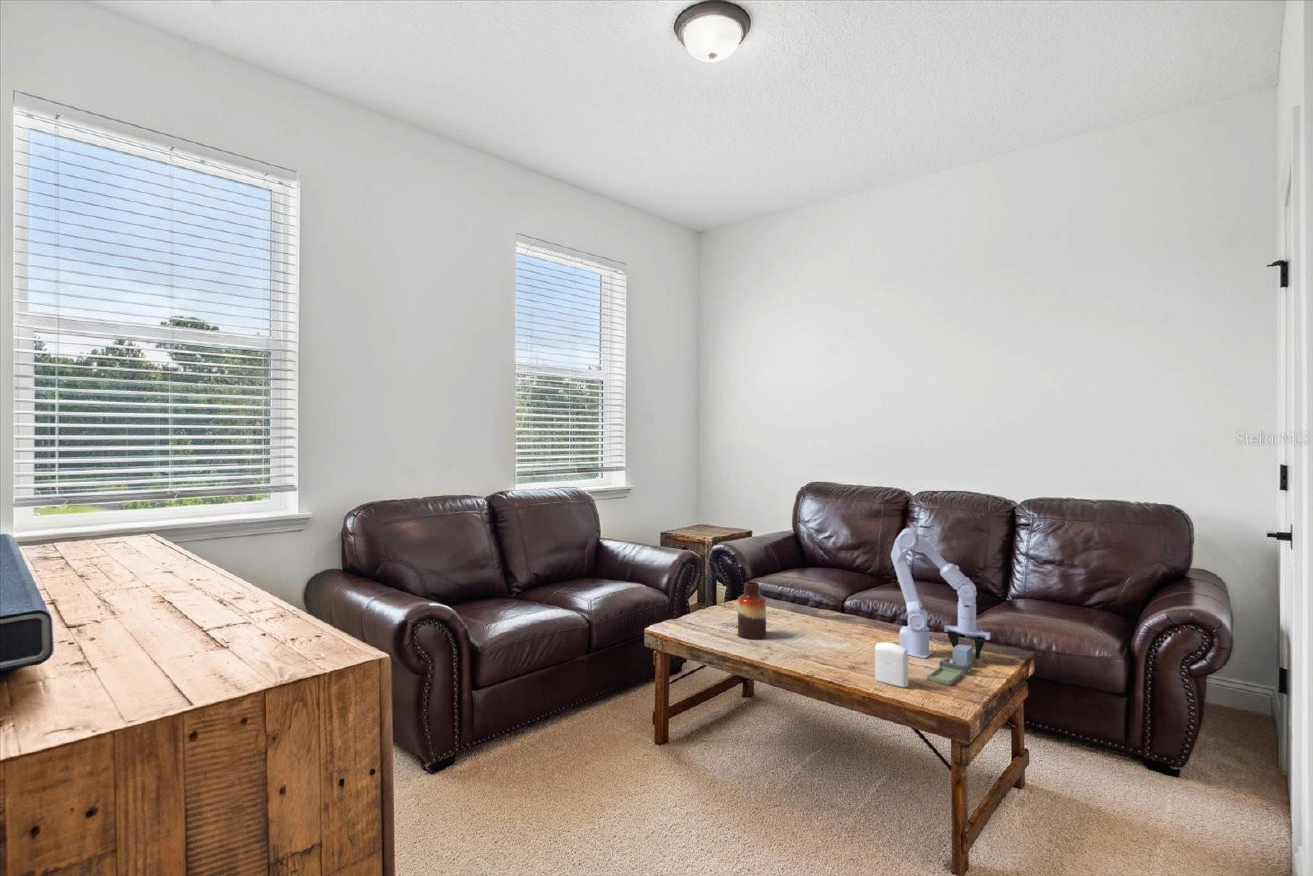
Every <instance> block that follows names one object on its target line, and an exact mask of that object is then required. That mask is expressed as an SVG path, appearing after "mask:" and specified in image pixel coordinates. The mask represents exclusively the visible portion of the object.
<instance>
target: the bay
mask: <svg viewBox="0 0 1313 876" xmlns="http://www.w3.org/2000/svg"><path fill="white" fill-rule="evenodd" d="M939 666H942V667H947V668H951V669H956V670H960V671H962V673H963V674H966V673H967V674H968V673H969V672H970V671H971V670H972V664H971V662H969V661H968V662H967V663H966V664H964V665H963V666H962V665H957V664H953V662H950V657H949V656H945V657H944V658H942V659H940V661H939ZM970 669H971V670H970ZM969 670H970V671H969ZM968 671H969V672H968ZM963 674H962V675H963ZM967 674H966V675H967Z"/></svg>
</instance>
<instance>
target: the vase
mask: <svg viewBox="0 0 1313 876" xmlns="http://www.w3.org/2000/svg"><path fill="white" fill-rule="evenodd" d="M760 592H761V591H760V584H759V582H757V581H746V582H745V583H744V593H743V594H742V595H740V596H738V597H737V636H738V637H739V636H740V637H739V638H741V637H742V638H741V639H744V640H749V639H750V640H751V641H755V640H757V641H758V640H762V638H763V639H765V638H766V637H767V599H766V597H765V596H764V595H761V593H760ZM765 636H766V637H765ZM764 637H765V638H764Z"/></svg>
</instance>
